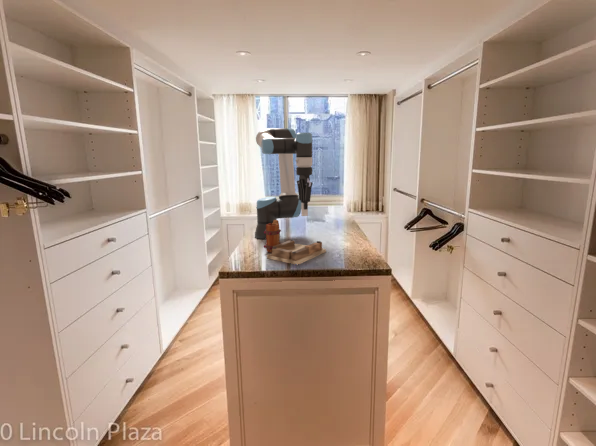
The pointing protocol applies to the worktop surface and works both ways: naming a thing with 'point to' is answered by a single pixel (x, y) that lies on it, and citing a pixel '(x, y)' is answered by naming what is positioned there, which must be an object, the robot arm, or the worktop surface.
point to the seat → (292, 253)
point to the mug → (272, 235)
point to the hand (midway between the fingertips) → (304, 215)
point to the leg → (314, 247)
